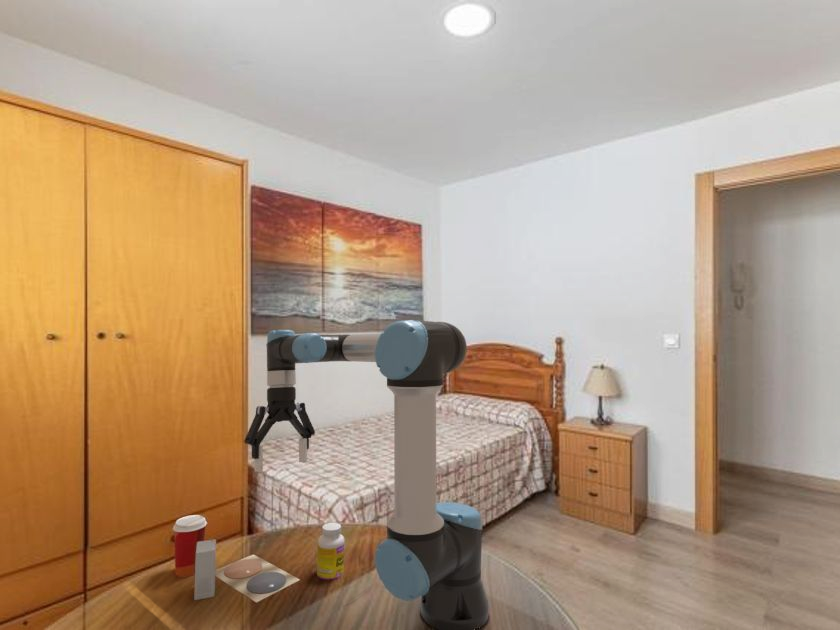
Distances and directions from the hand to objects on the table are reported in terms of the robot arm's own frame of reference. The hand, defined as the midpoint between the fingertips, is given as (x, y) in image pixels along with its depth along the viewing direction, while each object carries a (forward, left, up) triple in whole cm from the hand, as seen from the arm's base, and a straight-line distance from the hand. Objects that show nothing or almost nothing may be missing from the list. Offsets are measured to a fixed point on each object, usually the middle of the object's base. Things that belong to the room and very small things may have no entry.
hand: (281, 466), depth 121 cm
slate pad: (-8, +9, -24) cm, 27 cm away
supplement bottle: (-16, -4, -26) cm, 30 cm away
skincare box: (0, +20, -26) cm, 33 cm away
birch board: (-3, +9, -26) cm, 27 cm away
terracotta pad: (+2, +9, -24) cm, 26 cm away
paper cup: (+12, +18, -26) cm, 34 cm away
